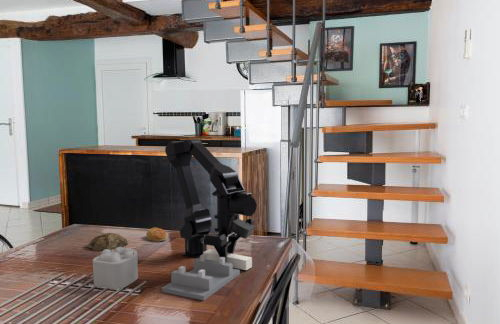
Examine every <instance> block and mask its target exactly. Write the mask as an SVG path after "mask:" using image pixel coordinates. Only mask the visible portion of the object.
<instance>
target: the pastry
mask: <svg viewBox="0 0 500 324" xmlns="http://www.w3.org/2000/svg"><path fill="white" fill-rule="evenodd" d="M145 235H146V238H147V239H148V240H149V241H152V242H155V243H156V242H161V241H166V240H167V233H166V231H165V230H164V229H162V228H159V227H152V228H149V229H148V230H147V231H146V234H145Z"/></svg>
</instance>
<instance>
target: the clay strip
mask: <svg viewBox="0 0 500 324" xmlns="http://www.w3.org/2000/svg"><path fill="white" fill-rule="evenodd" d="M203 254H206V255H207V260H213V261H219V258H220V256H219V254H218V252H217V251H216V249H211V248H209V249H207V251H205V252H203ZM225 263H231V264H233V269H237V270H244V271H248V270H249V269H251V268H252V267H253V258H252V257H251V256H247V255H243V254H236V253H233V254H232V253H227V259H226V262H225Z"/></svg>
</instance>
